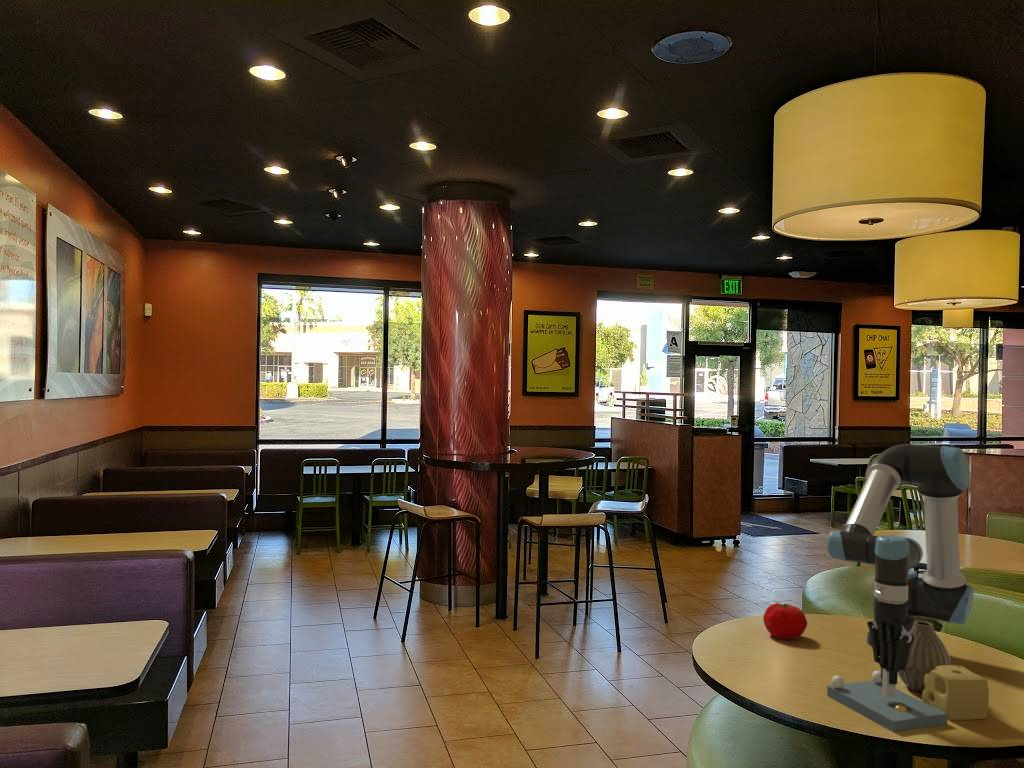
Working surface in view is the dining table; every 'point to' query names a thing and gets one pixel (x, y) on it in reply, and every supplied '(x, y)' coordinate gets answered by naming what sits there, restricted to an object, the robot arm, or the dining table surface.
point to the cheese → (957, 692)
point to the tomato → (784, 621)
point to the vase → (923, 655)
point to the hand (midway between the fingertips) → (888, 695)
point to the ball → (900, 708)
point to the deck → (887, 706)
